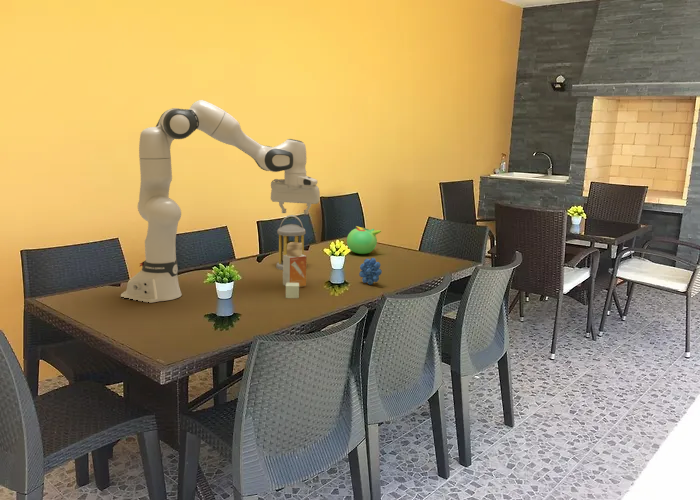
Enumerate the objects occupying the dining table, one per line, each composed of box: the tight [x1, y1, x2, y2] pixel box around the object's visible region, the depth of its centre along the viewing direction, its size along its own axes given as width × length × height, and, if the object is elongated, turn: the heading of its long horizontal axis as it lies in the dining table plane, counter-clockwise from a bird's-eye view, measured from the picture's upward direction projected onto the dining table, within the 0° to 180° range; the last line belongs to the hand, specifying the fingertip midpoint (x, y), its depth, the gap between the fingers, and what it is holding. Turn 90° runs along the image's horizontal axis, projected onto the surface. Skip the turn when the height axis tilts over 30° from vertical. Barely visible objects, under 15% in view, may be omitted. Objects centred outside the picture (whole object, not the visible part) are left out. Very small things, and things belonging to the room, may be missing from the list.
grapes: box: [359, 257, 382, 286], centre depth 247 cm, size 12×7×12 cm, turn 50°
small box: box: [282, 254, 308, 288], centre depth 243 cm, size 8×6×13 cm
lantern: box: [275, 214, 307, 271], centre depth 273 cm, size 14×14×25 cm
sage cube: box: [285, 283, 300, 299], centre depth 227 cm, size 5×5×5 cm
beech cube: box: [287, 242, 302, 257], centre depth 241 cm, size 5×5×5 cm
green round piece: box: [346, 225, 382, 255], centre depth 309 cm, size 18×17×15 cm
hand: (295, 213), depth 238 cm, fingers open, 8 cm apart
